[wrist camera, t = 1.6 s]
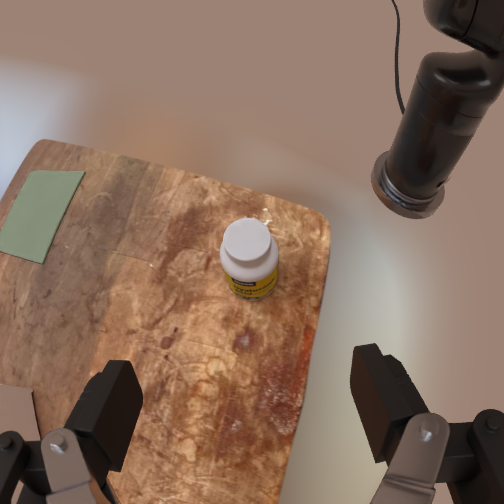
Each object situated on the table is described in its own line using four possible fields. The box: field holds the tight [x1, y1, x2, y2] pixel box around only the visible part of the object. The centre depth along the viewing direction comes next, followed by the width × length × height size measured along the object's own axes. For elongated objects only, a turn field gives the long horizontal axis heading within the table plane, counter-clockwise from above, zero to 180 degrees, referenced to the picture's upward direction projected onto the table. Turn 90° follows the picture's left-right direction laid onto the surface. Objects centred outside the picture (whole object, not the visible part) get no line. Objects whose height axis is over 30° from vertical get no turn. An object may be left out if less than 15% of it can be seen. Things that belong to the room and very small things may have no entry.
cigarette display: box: [0, 384, 40, 504], centre depth 21 cm, size 20×6×9 cm, turn 16°
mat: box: [0, 171, 85, 264], centre depth 41 cm, size 16×14×1 cm
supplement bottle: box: [220, 218, 279, 301], centre depth 31 cm, size 5×5×10 cm
